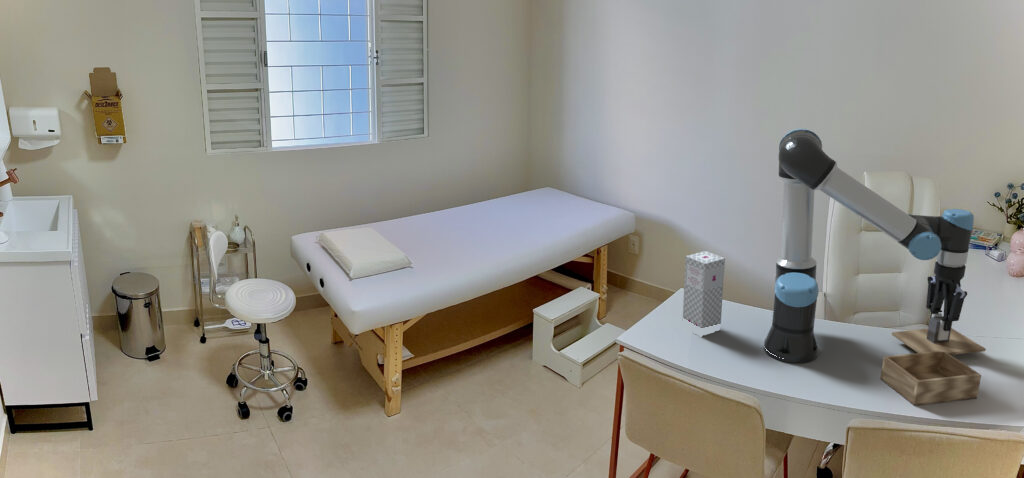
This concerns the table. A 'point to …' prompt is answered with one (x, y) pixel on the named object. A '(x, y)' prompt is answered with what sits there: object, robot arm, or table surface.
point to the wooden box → (930, 377)
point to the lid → (929, 340)
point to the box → (703, 289)
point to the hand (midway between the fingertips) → (938, 336)
